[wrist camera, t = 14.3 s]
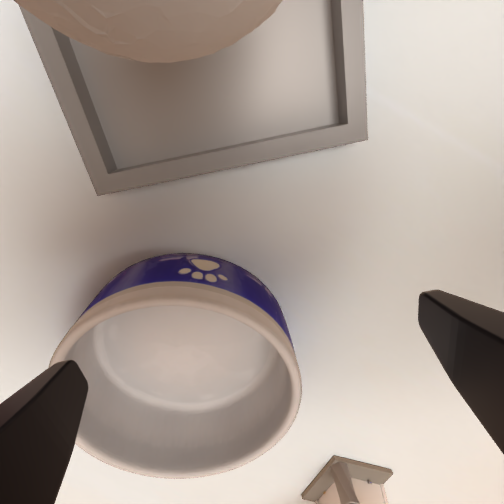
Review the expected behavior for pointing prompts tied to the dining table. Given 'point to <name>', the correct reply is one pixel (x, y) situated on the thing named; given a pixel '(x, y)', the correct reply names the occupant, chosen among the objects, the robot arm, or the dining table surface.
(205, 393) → the dog bowl
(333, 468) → the skyscraper
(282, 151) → the tray
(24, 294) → the dining table surface
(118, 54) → the lollipop
